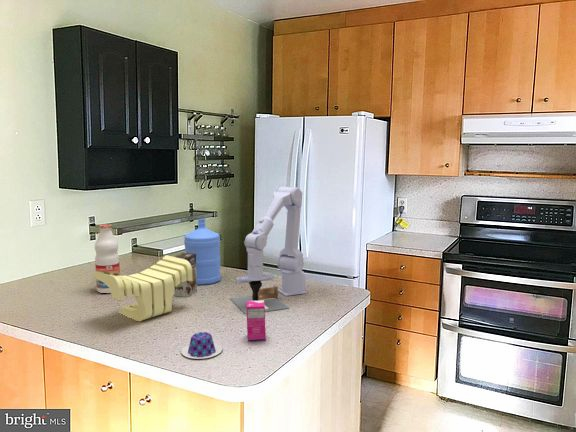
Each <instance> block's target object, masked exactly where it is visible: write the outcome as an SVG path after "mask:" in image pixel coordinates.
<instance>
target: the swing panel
mask: <svg viewBox="0 0 576 432" xmlns="http://www.w3.org/2000/svg"><path fill="white" fill-rule="evenodd" d="M259 300H263V297H262V295H261V294H260V292H258V301H259Z"/></svg>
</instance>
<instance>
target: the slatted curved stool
mask: <svg viewBox="0 0 576 432" xmlns="http://www.w3.org/2000/svg"><path fill="white" fill-rule="evenodd" d="M93 279H95V280H96V279H98V280H100V281H102V282H103V283H105V284H106V285H107V286H108V287H109V289H110V291H111V294H110V295H111V297H112V299H114V300H117V301H121V300H123V299H125V298H127V297H132V296H134V298H135V300H136V303H135V302H134V303H132V304H129V305H125V306H122V307H120V308H119V311H118V314H119V313H121V314H123V315H122V316H124V315H125V316H124V317H126V316H127V317H126V318H129V319H131V318H132V319H131V320H133V319H134V321H137V322H142V321H144V320H149V319H150V318H154V317H157V316H161V315H163V314H167V313H170V312H172V311H173V310H172V309H173V308H172V307H173V305H172V304H173V297H174V286H175V287H177V285H179V284H180V282H184V281H186V280H187V281H193V278H192V267H191V264H190V263H189V262H188V261H187V260H184V259H180V258H176V256H170V255H167V254H166V255H165V256H163V257H162V258H161V259H159V260H158V261H157V262H156V263H155V264H153V265H151V266H150V267H149V268H146V269H143V270H142V271H139V272H138V273H137V272H136V273H133V274H129V275H120V276H114V275H108V274H104V273H101V272H98V271H96V269H95V270H93ZM121 314H120V315H121Z"/></svg>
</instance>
